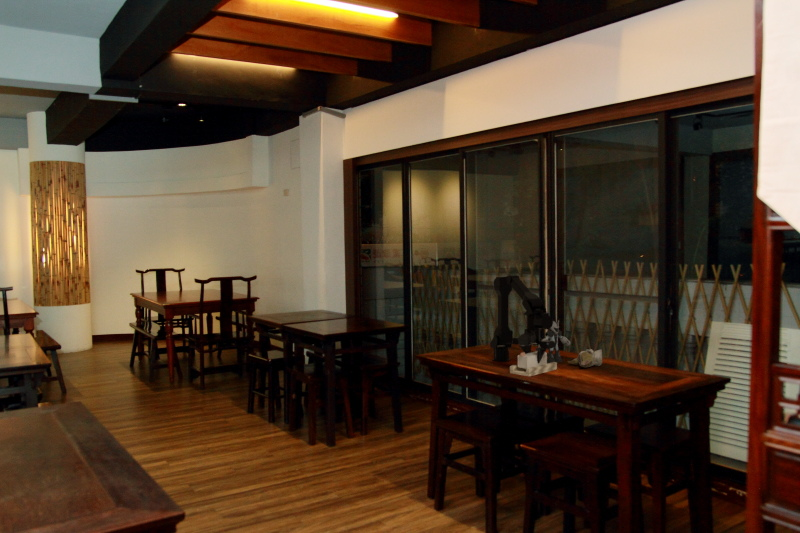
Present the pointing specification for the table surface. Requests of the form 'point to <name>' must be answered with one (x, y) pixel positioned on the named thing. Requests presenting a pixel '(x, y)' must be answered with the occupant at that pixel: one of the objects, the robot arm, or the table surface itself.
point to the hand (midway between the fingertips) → (533, 362)
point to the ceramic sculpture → (588, 358)
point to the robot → (554, 337)
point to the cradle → (533, 369)
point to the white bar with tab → (530, 360)
